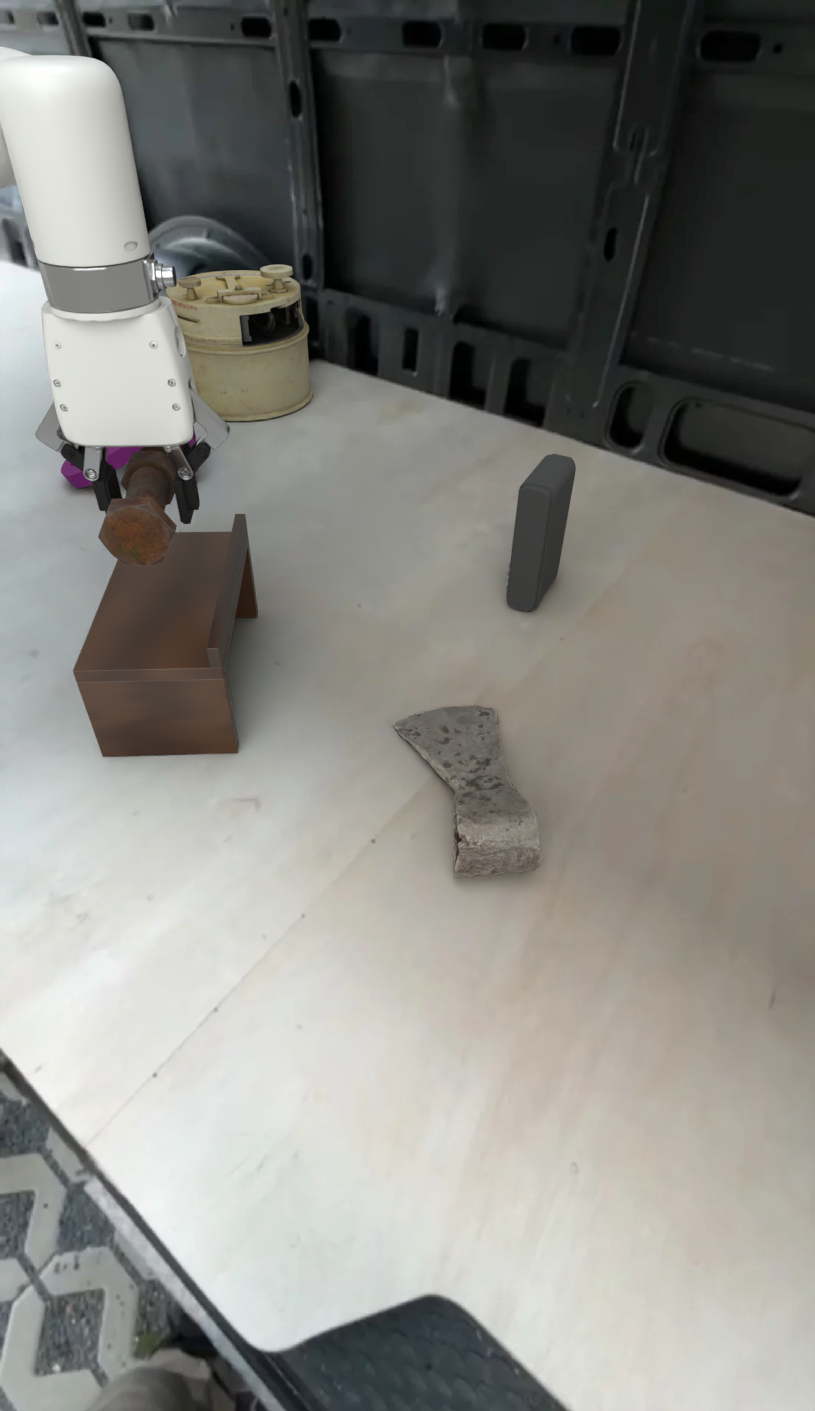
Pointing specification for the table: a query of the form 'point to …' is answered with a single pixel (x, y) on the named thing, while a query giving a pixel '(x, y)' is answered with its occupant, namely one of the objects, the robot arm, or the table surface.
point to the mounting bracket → (114, 457)
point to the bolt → (142, 511)
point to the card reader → (539, 531)
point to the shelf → (169, 648)
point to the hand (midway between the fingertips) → (152, 514)
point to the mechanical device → (245, 341)
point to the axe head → (477, 790)
